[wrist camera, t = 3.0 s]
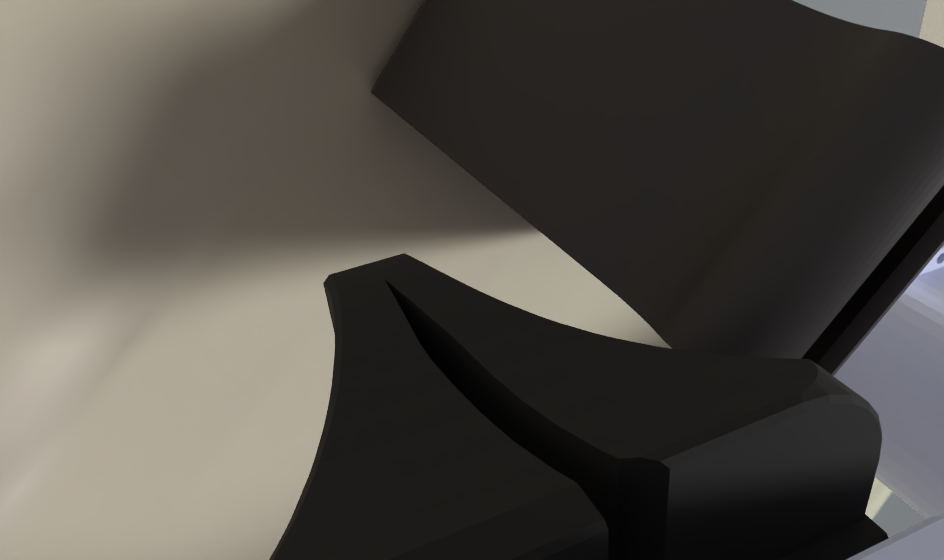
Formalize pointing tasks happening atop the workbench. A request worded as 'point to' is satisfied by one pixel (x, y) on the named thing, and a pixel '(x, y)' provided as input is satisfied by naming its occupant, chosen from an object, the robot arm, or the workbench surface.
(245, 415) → the workbench surface
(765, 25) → the phone stand
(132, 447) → the workbench surface
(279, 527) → the workbench surface
